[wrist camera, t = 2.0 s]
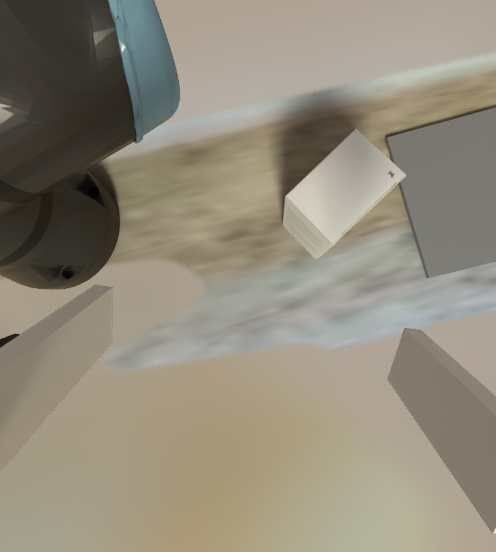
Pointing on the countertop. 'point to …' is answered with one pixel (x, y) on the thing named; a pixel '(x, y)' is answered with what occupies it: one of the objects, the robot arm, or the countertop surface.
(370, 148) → the small box
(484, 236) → the slate mat
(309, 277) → the countertop surface
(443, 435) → the robot arm
